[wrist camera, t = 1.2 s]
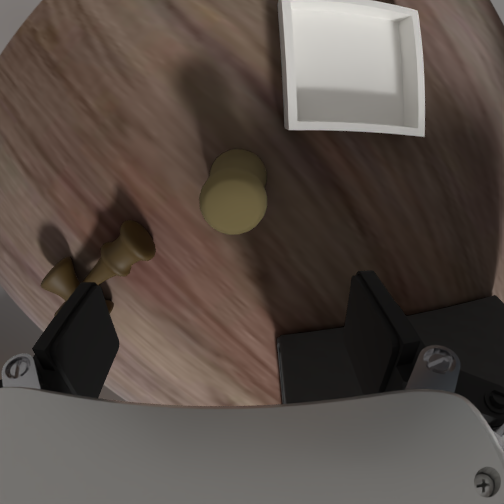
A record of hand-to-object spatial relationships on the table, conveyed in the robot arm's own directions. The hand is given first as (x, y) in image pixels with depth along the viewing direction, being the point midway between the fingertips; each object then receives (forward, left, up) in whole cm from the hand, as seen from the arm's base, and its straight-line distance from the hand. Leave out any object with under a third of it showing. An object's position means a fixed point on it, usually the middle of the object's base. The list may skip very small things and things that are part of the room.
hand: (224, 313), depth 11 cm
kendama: (+19, +11, -24) cm, 33 cm away
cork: (0, 0, -24) cm, 24 cm away
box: (-12, -12, -23) cm, 29 cm away
